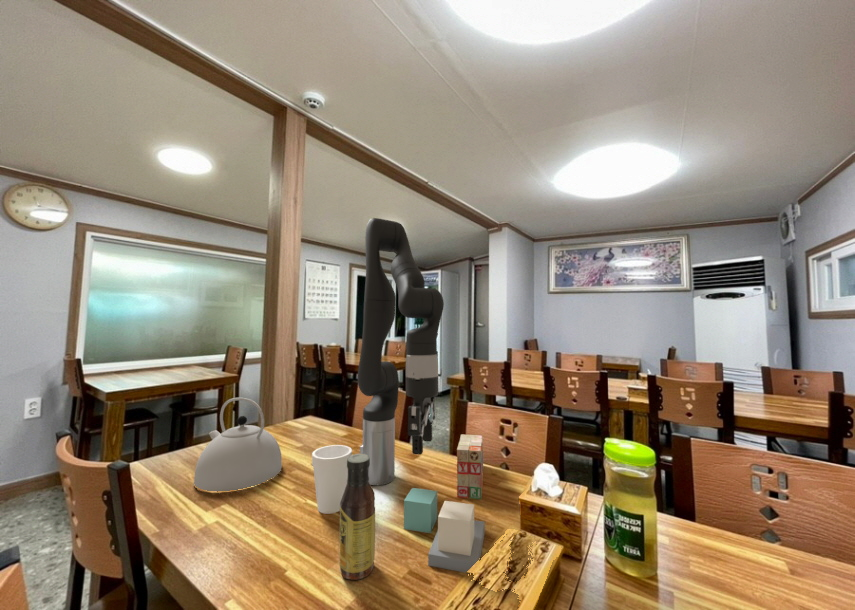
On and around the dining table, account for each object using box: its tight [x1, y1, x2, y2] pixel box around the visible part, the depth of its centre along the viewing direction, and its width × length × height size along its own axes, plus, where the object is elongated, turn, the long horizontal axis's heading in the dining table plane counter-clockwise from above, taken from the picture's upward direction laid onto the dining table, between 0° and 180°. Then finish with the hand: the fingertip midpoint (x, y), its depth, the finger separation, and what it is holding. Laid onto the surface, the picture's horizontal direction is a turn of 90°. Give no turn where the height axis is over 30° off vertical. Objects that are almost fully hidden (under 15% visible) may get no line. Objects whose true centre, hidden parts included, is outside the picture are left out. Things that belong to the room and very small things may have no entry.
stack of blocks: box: [456, 434, 484, 500], centre depth 96 cm, size 21×6×12 cm, turn 169°
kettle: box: [193, 397, 283, 492], centre depth 100 cm, size 25×23×23 cm
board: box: [427, 519, 486, 574], centre depth 66 cm, size 9×13×2 cm
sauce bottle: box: [338, 453, 376, 581], centre depth 60 cm, size 6×6×20 cm
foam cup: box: [311, 444, 353, 515], centre depth 82 cm, size 10×9×13 cm
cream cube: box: [437, 500, 475, 556], centre depth 65 cm, size 6×6×6 cm
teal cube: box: [403, 487, 438, 534], centre depth 75 cm, size 6×6×6 cm
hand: (422, 447), depth 76 cm, fingers open, 8 cm apart
